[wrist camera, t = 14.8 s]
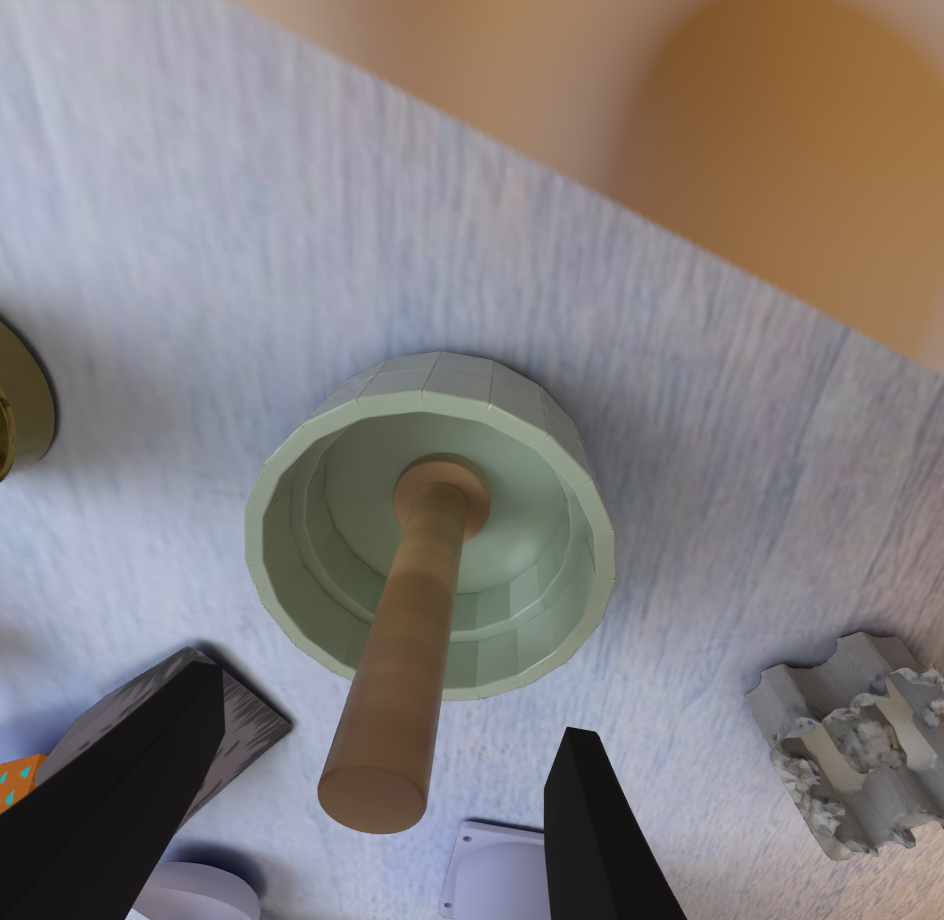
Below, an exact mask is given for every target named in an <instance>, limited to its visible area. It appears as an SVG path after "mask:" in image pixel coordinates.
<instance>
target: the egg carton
mask: <svg viewBox="0 0 944 920" xmlns="http://www.w3.org/2000/svg"><path fill="white" fill-rule="evenodd" d="M836 641H837V644H838V645H837V648H836V651H835V652H834V654H833V655H832V656H831V657H830V658H829V659H828V661H827V662H825V663H823V664H821V665H820V666H815V667H813V668H812V669H801V668H800V669H795V668H789V667H788V666H786V665H784V664H780V665H777V666H775V667H772V668H770V669H767V670H765V671H763V672H761V676H762V678H761V681H760V684H759V685H758V686H757V687H756V688H755V689H754V690H753V691H751V692H750V693H748V694H746V695H745V699H746V701H747V703H748V705H749V707H750V709H751V711H752V713H753V715H754V717H755V719H756V721H757V723H758V725H759V727H760V729H761V731H762V733H763V735H764V737H765V739H766V741H767V742H768V744H769V746H770V747H771V748H772V752H771V756H770V758H771V761H772V763H773V766H774V767H775V769H776V771H777V773H778V774H779V776H780V778H781V780H782V782H783V783H784V785H785V787H786V789H787V790H788V792H789V793H790V795H791V797H792V799H793V801H794V803H795V805H796V806H797V808H798V809H799V811H800V813H801V815H802V816H803V818H804V820H805V821H806V823H807V825H808V827H809V829H810V831H811V832H812V834H813V836H814V837H815V839H816V840H817V842H818V843H819V845H820V846H821V848H822V850H823V851H824V853H825V854H826V855H827V856H828V857H829V858H830V859H831V860H835V861H840V860H848V859H849V858H851V857H852V855H854V854H868V855H873V856H876V857H878V856H879V854H878V850H877V849H879V848H880V847H882V846H884V845H887V844H891V843H897V844H901V845H903V846H905V847H906V848H908V849H911V848H913V847H914V846H916V844H915V837H914V836H913V834H912V833H911V831H910V829H911V828H913V827H917V826H920V825H923V824H926V823H929V822H931V821H934V820H936V821H938V822H939V823H940V824H941V825H942V828H943V829H944V678H943V677H942V675H941V674H940V673H939V671H938V670H937V669H936V667H935V666H934V665H932V664H931V663H929V668H928V669H927V668H925V667H924V666H923V665H921V664H920V663H918V662H917V661H916V660H915V659H914V658H913V656H912V655H911V653H910V652H909V650H908V649H907V648H906V646H905V644H904V643H903V642H902V641H901V640H900V639H899V638H898V637H896V636H893V637H883V638H879V637H873V636H870V635H869V634H867V633H864V632H858V633H854V634H852V635H849V636H846V637H842V638H838V639H837V640H836Z"/></svg>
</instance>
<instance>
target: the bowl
mask: <svg viewBox="0 0 944 920" xmlns="http://www.w3.org/2000/svg"><path fill="white" fill-rule="evenodd" d="M436 453H445V454H452V455H456V456H459V457H461V458H464V459H465V460H467V461H469V462H470V463H472V464H473V465H474V466H476V467H477V468H478V469H479V470H480V471H481V473H482V474H483V475H484V477H485V479H486V481H487V483H488V485H489V489H490V494H491V501H490V512H489V516H488V519H487V522H486V524H485V525H484V527H483V528H482V530H481V531H480V532H479V533H478V534H477V535H475V536H474V537H473V538H471V539H470V540H468V541H466V542H464V543H463V548H462V555H461V563H460V570H459V577H458V584H457V591H456V599H455V606H454V613H453V620H452V627H451V635H450V642H449V649H448V656H447V664H446V671H445V678H444V685H443V692H442V700H441V701H460V700H479V699H480V698H481V699H484V698H488V697H491V696H494V695H498V694H501V693H504V692H508V691H511V690H515V689H518V688H521V687H525V686H527V685H530V684H532V683H533V682H535V681H536V680H538V679H540V678H541V677H543V676H545V675H546V674H548V673H549V672H551V671H553V670H554V669H556V668H557V667H559V666H561V665H562V664H564V663H566V662H567V661H568V659H570V658H571V657H572V656H573V655H574V654H575V652H576V651H577V650H578V649H579V648H580V647H581V645H582V644H583V643H584V642H585V641H586V639H587V638H588V637H589V636H590V635H591V634H592V632H593V631H594V630H595V629H596V628H597V627H598V625H599V624H600V622H601V620H602V617H603V614H604V611H605V609H606V606H607V603H608V600H609V598H610V595H611V592H612V589H613V587H614V584H615V581H616V579H615V578H616V558H615V530H614V526H613V523H612V520H611V517H610V514H609V511H608V508H607V505H606V502H605V500H604V497H603V494H602V491H601V488H600V485H599V482H598V479H597V476H596V473H595V470H594V467H593V464H592V462H591V459H590V457H589V455H588V452H587V450H586V448H585V446H584V443H583V441H582V439H581V436H580V434H579V432H578V429H577V427H576V425H575V423H574V422H573V420H572V419H571V418H570V417H569V416H568V415H567V414H566V412H565V411H564V410H563V409H562V408H561V407H560V406H559V405H558V404H557V403H556V402H555V401H554V400H553V399H552V397H551V396H550V395H549V394H548V393H547V392H546V391H545V390H544V389H543V388H542V387H541V386H539V385H538V384H536V383H534V382H533V381H531V380H529V379H527V378H525V377H523V376H522V375H520V374H518V373H516V372H514V371H512V370H510V369H509V368H507V367H505V366H503V365H501V364H499V363H498V362H494V361H493V360H488V359H483V358H477V357H472V356H467V355H461V354H456V353H451V352H445V351H442V352H440V351H438V352H430V353H422V354H415V355H407V356H399V357H392V358H388V359H386V360H384V361H382V362H380V363H378V364H376V365H374V366H372V367H370V368H368V369H366V370H364V371H361V372H359V373H357V374H355V375H353V376H351V377H349V378H347V379H346V380H345V381H344V382H343V383H342V384H341V385H340V386H339V387H338V388H337V389H336V390H335V391H334V392H333V393H332V394H331V395H330V396H329V397H328V398H327V399H326V400H325V401H324V402H323V403H322V404H320V405H319V406H318V407H317V408H316V409H315V410H314V411H313V412H312V413H311V414H310V415H309V416H308V417H307V418H306V419H305V420H304V421H303V422H302V423H301V424H300V425H299V426H298V427H297V429H296V430H295V431H294V432H293V433H292V434H291V435H290V436H289V437H288V438H287V439H286V440H285V441H284V442H283V443H282V444H281V445H280V446H279V447H278V448H277V449H276V451H275V452H274V453H273V454H272V455H271V456H270V457H269V458H268V459H267V460H266V461H265V462H264V464H263V465H262V467H261V470H260V473H259V475H258V478H257V480H256V483H255V485H254V488H253V491H252V493H251V496H250V498H249V501H248V503H247V506H246V509H245V559H246V564H247V567H248V569H249V572H250V575H251V577H252V580H253V582H254V585H255V587H256V590H257V593H258V595H259V598H260V600H261V603H262V605H264V608H265V609H266V610H267V611H268V613H269V614H270V615H271V616H272V618H273V619H274V620H275V621H276V623H277V624H278V625H279V626H280V628H281V629H282V630H283V631H284V633H285V634H286V635H287V636H288V638H289V639H290V640H291V641H292V642H293V643H294V645H295V646H297V647H298V648H299V649H301V650H302V651H303V652H305V653H306V654H308V655H309V656H310V657H312V658H313V659H314V660H316V661H317V662H319V663H320V664H321V665H323V666H324V667H325V668H327V669H328V670H329V671H331V672H332V673H335V674H336V675H339V676H341V677H344V678H346V679H348V680H351V681H353V679H354V676H355V673H356V670H357V667H358V665H359V662H360V659H361V656H362V653H363V650H364V647H365V644H366V641H367V638H368V635H369V632H370V629H371V626H372V623H373V620H374V617H375V614H376V611H377V608H378V605H379V602H380V599H381V596H382V593H383V590H384V587H385V584H386V581H387V578H388V575H389V572H390V569H391V566H392V563H393V560H394V557H395V554H396V551H397V548H398V545H399V542H400V539H401V536H402V533H403V530H404V529H403V528H402V526H401V525H400V524H399V522H398V520H397V519H396V516H395V514H394V510H393V505H392V496H393V491H394V488H395V485H396V483H397V480H398V478H399V476H400V474H401V473H402V471H403V470H404V469H405V468H406V467H407V466H408V465H409V464H410V463H411V462H413V461H414V460H416V459H418V458H420V457H422V456H425V455H429V454H436Z"/></svg>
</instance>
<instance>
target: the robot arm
mask: <svg viewBox="0 0 944 920" xmlns="http://www.w3.org/2000/svg"><path fill="white" fill-rule="evenodd" d="M225 733H226V732H225V710H224V689H223V668H222V666H221V665H216V664H210V663H204V662H199V661H192V662H190V663H188V664H187V665H186V666H185V667H183V668H182V669H181V670H180V671H179V672H178V673H177V674H175V675H174V676H173V677H172V678H171V679H170V680H169V681H167V682H166V683H165V684H164V685H163V686H162V687H160V688H159V689H158V690H157V691H156V692H155V693H154V694H152V695H151V696H150V697H149V698H148V699H147V700H145V701H144V702H143V703H142V704H141V705H139V706H138V707H137V708H136V709H135V710H133V711H132V712H131V713H130V714H129V715H128V716H126V717H125V718H124V719H123V720H122V721H120V722H119V723H118V724H117V725H115V726H114V727H113V728H112V729H111V730H109V731H108V732H107V733H106V734H104V735H103V736H102V737H101V738H99V739H98V740H97V741H96V742H94V743H93V744H92V745H91V746H90V747H88V748H87V749H86V750H85V751H83V752H82V753H81V754H80V755H78V756H77V757H76V758H75V759H73V760H72V761H71V762H69V763H68V764H67V765H65V766H64V767H63V768H61V769H60V770H59V771H57V772H56V773H55V774H54V775H52V776H51V777H50V778H48V779H47V780H46V781H44V782H43V783H42V784H40V785H39V786H38V787H36V788H35V789H34V790H32V791H31V792H30V793H28V794H27V795H26V796H24V797H23V798H22V799H20V800H19V801H18V802H16V803H15V804H13V805H12V806H11V807H9V808H8V809H7V810H5V811H4V812H2V813H1V814H0V920H125V918H126V917H127V915H128V913H129V911H130V910H131V908H132V906H133V904H134V903H135V901H136V899H137V898H138V896H139V894H140V892H141V891H142V889H143V887H144V885H145V884H146V882H147V880H148V878H149V877H150V875H151V873H152V872H153V870H154V868H155V866H156V865H157V863H158V861H159V859H160V858H161V856H162V854H163V853H164V851H165V849H166V847H167V846H168V844H169V842H170V840H171V839H172V837H173V835H174V834H175V832H176V830H177V828H178V827H179V825H180V823H181V821H182V820H183V818H184V816H185V814H186V813H187V811H188V809H189V807H190V806H191V804H192V802H193V800H194V799H195V797H196V795H197V793H198V791H199V790H200V788H201V786H202V784H203V782H204V779H205V777H206V775H207V773H208V771H209V769H210V767H211V764H212V762H213V760H214V758H215V755H216V753H217V751H218V749H219V746H220V744H221V742H222V739H223V737H224V735H225ZM438 914H439V915H440V916H442V917H445V918H451V919H453V920H687V918H686V916H685V914H684V912H683V910H682V909H681V907H680V905H679V903H678V901H677V900H676V898H675V896H674V894H673V892H672V890H671V889H670V887H669V885H668V883H667V881H666V879H665V877H664V875H663V873H662V871H661V869H660V868H659V866H658V864H657V862H656V860H655V858H654V856H653V854H652V852H651V850H650V848H649V846H648V844H647V841H646V839H645V837H644V835H643V833H642V831H641V829H640V827H639V825H638V823H637V821H636V819H635V817H634V815H633V813H632V811H631V808H630V806H629V804H628V802H627V800H626V797H625V795H624V793H623V791H622V789H621V786H620V784H619V782H618V780H617V777H616V775H615V773H614V771H613V768H612V766H611V764H610V761H609V759H608V756H607V754H606V752H605V749H604V747H603V744H602V742H601V739H600V737H599V735H598V734H597V733H596V732H594V731H589V730H583V729H577V728H572V727H567V728H566V730H565V733H564V736H563V738H562V741H561V744H560V747H559V749H558V752H557V755H556V757H555V760H554V763H553V765H552V768H551V771H550V773H549V776H548V779H547V782H546V784H545V787H544V834H541V833H536V832H530V831H524V830H518V829H513V828H507V827H501V826H495V825H490V824H484V823H478V822H472V821H466V822H464V823H462V824H461V826H460V830H459V833H458V837H457V841H456V844H455V848H454V852H453V855H452V859H451V862H450V866H449V870H448V873H447V877H446V881H445V884H444V888H443V892H442V895H441V899H440V903H439V907H438Z"/></svg>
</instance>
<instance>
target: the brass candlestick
mask: <svg viewBox="0 0 944 920" xmlns="http://www.w3.org/2000/svg"><path fill="white" fill-rule="evenodd" d="M54 426H55V411H54V404H53V400H52V395H51V392H50V389H49V386H48V384H47V381H46V379H45V377H44V375H43V373H42V371H41V369H40V367H39V366H38V364H37V362H36V361H35V359H34V358H33V356H32V355H31V353H30V352H29V351H28V349H27V348H26V347H25V345H24V344H23V343H22V342H21V341H20V340H19V338H18V337H17V336H16V335H15V334H14V333H13V332H12V331H11V330H10V329H9V328H8V327H6V326H5V325H4V324H3V323H2V322H1V321H0V482H1V481H3V480H5V479H7V478H9V477H11V476H13V475H15V474H16V473H18V472H20V471H22V470H24V469H26V468H28V467H30V466H32V465H33V464H34V463H36V462H37V461H38V460H39V459H40V458H41V457H42V456H43V455H44V453H45V452H46V450H47V449H48V447H49V445H50V443H51V440H52V437H53V433H54Z"/></svg>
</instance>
